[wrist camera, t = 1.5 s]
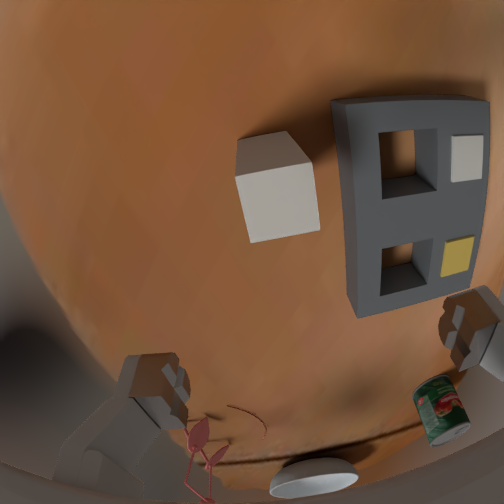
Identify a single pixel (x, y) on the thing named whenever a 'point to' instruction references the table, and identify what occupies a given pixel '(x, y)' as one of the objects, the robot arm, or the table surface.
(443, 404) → the canned tomato
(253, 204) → the plug
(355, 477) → the serving bowl
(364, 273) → the socket block
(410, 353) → the table surface
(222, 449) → the figurine
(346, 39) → the table surface
